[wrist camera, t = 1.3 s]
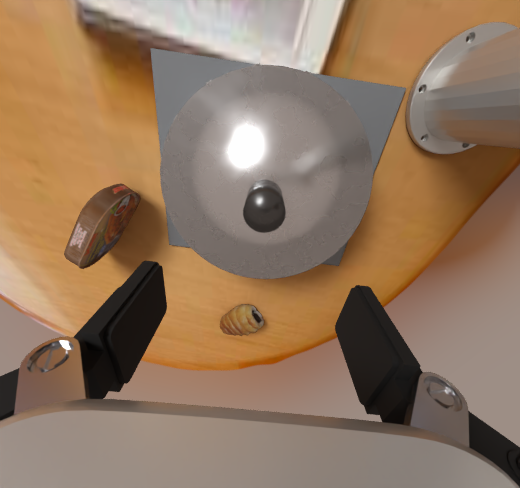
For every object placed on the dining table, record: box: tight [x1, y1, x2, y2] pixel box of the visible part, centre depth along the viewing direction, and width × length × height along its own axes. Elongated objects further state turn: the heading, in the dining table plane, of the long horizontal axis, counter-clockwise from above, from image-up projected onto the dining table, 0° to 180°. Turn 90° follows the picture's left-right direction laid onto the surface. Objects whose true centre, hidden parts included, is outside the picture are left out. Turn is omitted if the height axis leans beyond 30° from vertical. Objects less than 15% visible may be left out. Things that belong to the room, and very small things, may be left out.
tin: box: [64, 184, 140, 269], centre depth 32 cm, size 15×3×8 cm, turn 140°
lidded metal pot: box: [160, 63, 373, 279], centre depth 26 cm, size 24×24×13 cm
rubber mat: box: [151, 48, 406, 266], centre depth 31 cm, size 30×26×1 cm
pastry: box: [220, 304, 264, 336], centre depth 45 cm, size 9×7×4 cm
